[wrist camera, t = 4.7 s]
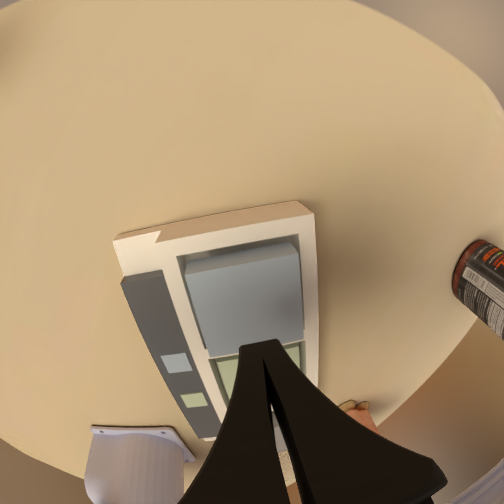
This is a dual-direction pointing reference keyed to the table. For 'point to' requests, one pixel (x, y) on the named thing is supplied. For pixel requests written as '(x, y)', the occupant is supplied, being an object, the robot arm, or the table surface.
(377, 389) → the table surface
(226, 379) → the sage key
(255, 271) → the slate key
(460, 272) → the supplement bottle
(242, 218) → the keypad
